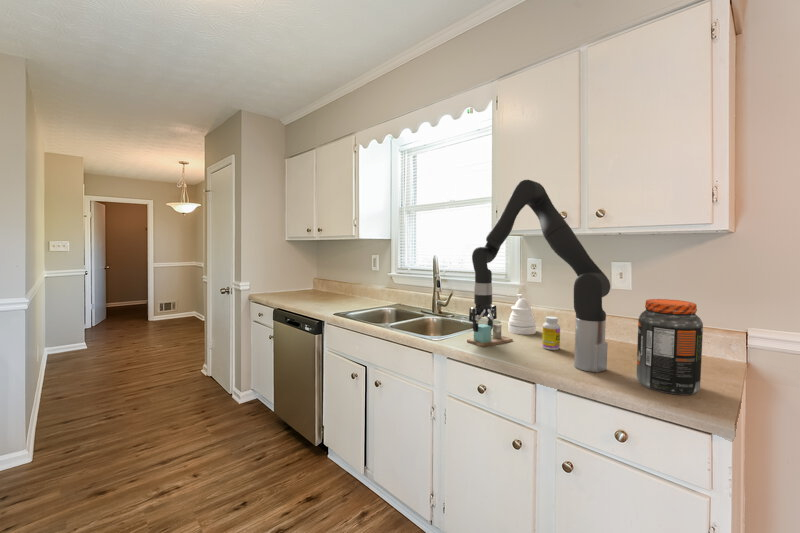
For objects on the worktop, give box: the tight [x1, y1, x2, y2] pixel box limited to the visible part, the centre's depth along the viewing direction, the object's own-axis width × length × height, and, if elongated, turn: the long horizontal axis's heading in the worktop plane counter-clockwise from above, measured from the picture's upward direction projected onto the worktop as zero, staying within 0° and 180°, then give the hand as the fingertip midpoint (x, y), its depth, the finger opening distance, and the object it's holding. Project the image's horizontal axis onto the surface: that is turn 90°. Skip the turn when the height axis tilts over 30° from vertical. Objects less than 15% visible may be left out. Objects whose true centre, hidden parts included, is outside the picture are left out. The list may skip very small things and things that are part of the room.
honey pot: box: [507, 293, 537, 335], centre depth 181 cm, size 13×13×18 cm
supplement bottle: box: [541, 315, 561, 351], centre depth 152 cm, size 7×7×13 cm
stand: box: [466, 323, 514, 348], centre depth 162 cm, size 10×18×7 cm, turn 123°
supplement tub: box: [636, 298, 704, 396], centre depth 111 cm, size 16×16×26 cm
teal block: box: [473, 323, 492, 343], centre depth 160 cm, size 5×5×7 cm
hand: (483, 330), depth 160 cm, fingers open, 8 cm apart
